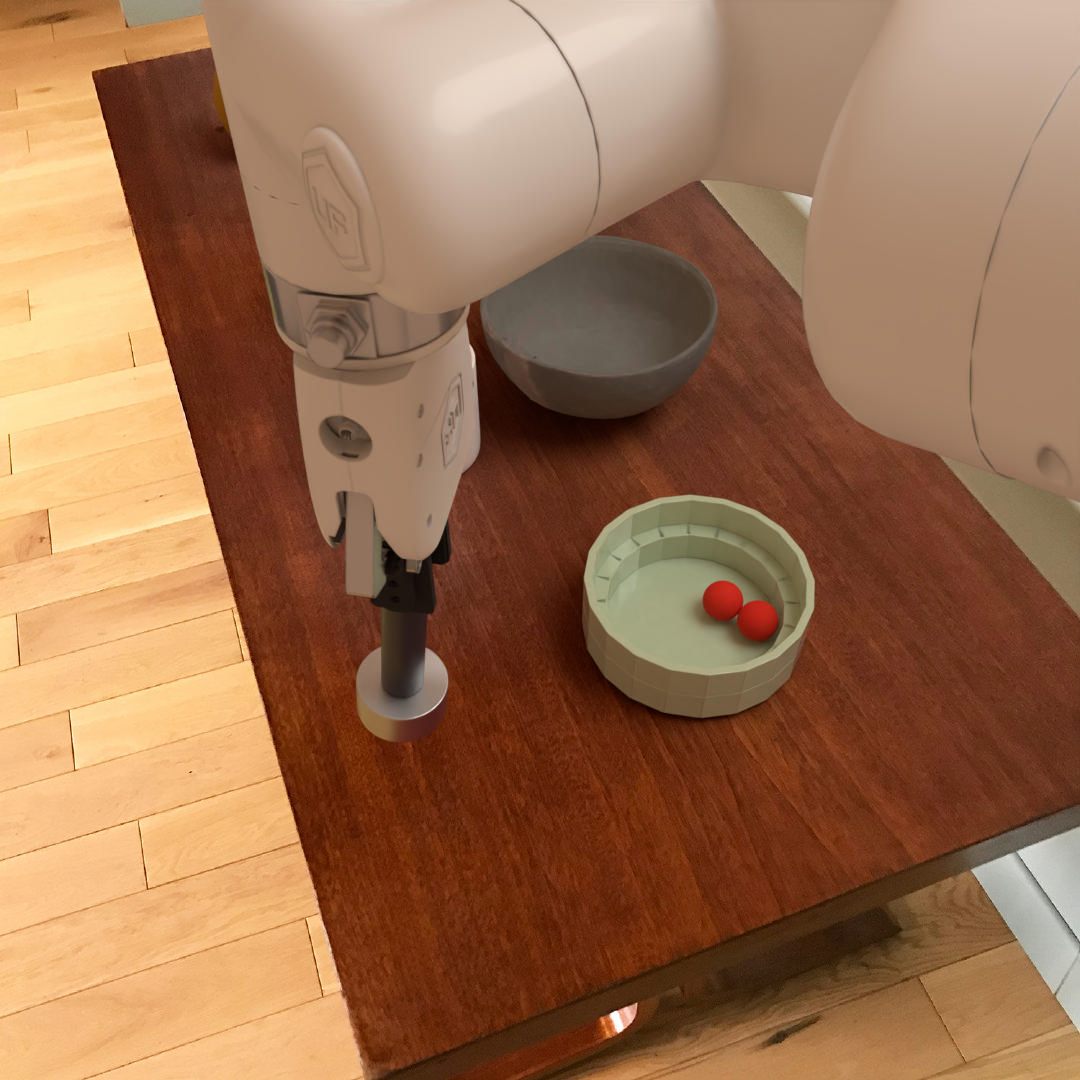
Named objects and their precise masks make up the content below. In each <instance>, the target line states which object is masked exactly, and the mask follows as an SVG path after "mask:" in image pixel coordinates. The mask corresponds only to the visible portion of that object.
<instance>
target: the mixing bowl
mask: <svg viewBox="0 0 1080 1080" xmlns="http://www.w3.org/2000/svg"><path fill="white" fill-rule="evenodd" d="M722 580H724V581H729V582H732V583H734V584H735V585H736V586H737V587H738V588H739V589H740V590H741V592H742V595H743V606H744V605H745V604H746V603H748V602H751V601H755V600H761V601H765V602H767V603H769V604H770V605H772V606H773V607H774V609H775V610H776V612H777V614H778V618H779V624H778V628H777V630H776V632H775V633H774V635H773V636H772V637H770V638H769V639H767V640H764V641H752V640H750V639H748V638H746V637H745V636H744V635H743V634H742V633H741V632H740V630H739V628H738V625H737V616H738V615H737V616H736V617H734V618H733V619H730V620H727V621H719V620H716V619H714V618H712V617H710V616H709V615H708V614H707V612H706V611H705V609H704V607H703V601H702V600H703V594H704V592H705V590H706V588H707V587H708V586H709V585H711V584H712V583H714V582H716V581H722ZM582 585H583V587H582V609H581V610H582V613H581V614H582V615H581V625H582V630H583V635H584V639H585V645H586V650H587V651H588V653H589V654H590V656H591V657H592V659H593V661H594V662H595V664H596V665H597V667H598V669H599V671H600V672H601V674H602V675H603V676H604V678H605V679H606V680H607V681H609V682H610V683H611V684H612V685H614V686H615V687H616V688H617V689H618V690H620V691H621V692H622V693H623V694H624V695H625V696H627V697H628V698H629V699H631V700H633V701H636V702H638V703H640V704H643V705H645V706H647V707H649V708H652V709H654V710H656V711H658V712H661V713H664V714H668V715H669V714H670V715H677V716H683V717H691V718H698V719H705V718H712V717H713V718H714V717H720V716H727V715H736V714H739V713H740V712H743V711H745V710H747V709H749V708H752V707H754V706H756V705H758V704H761V703H763V702H765V701H767V700H769V698H770V697H772V695H773V694H775V693H776V692H777V691H778V690H779V689H780V688H781V687H782V686H783V685H784V684H785V683H786V682H787V681H789V679H790V678H791V675H792V674H793V671H794V670H795V667H796V665H797V662H798V660H799V658H800V656H801V654H802V650H803V647H804V644H805V640H806V637H807V634H808V632H809V628H810V624H811V620H812V618H813V614H814V610H815V593H816V591H815V589H816V588H815V585H816V581H815V577H814V575H813V572H812V570H811V567H810V564H809V562H808V559H807V557H806V555H805V553H804V551H803V550H802V549H801V547H800V546H799V545H798V544H797V543H796V542H795V540H794V539H793V538H792V537H791V535H790V534H789V533H788V532H787V531H786V529H784V528H783V527H782V526H780V525H779V523H777V522H775V521H773V520H772V519H771V518H768V516H766V515H764V514H763V513H761V512H760V511H758V510H756V509H754V508H752V507H748V506H747V505H746V506H745V505H743V504H741V503H737V502H735V501H733V500H729V499H726V498H720V497H713V496H706V495H705V496H704V495H697V494H685V495H674V496H664V497H658V498H654V499H652V500H649V501H647V502H645V503H641V504H639V505H636V506H633V507H631V508H628V509H626V510H625V511H624V512H622V513H621V514H620V515H619V516H617V517H616V518H614V519H613V520H612V521H611V522H609V523H608V524H607V525H605V526H604V527H603V529H602V530H601V532H600V533H599V535H598V536H597V537H596V539H595V540H594V543H592V546H591V547H590V549H589V550H588V553H587V559H586V563H585V569H584V575H583V584H582Z"/></svg>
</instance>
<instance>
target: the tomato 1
mask: <svg viewBox="0 0 1080 1080" xmlns="http://www.w3.org/2000/svg"><path fill="white" fill-rule="evenodd" d="M702 601H703V607H704V609H705V611H706V612H707V614H708V615H709V616H710V617H712V618H714V619H716V620H719V621H727V620H730V619H733V618H734V617H736V616H737V615H738V613H739V611H740V609H741V608H742V607H743V595H742V592H741V590H740V589H739V588H738V587H737V586H736V585H735V584H734V583H732V582H729V581H724V580H722V581H716V582H714V583H712V584H711V585H709V586H708V587H707V588H706V590H705V592H704V594H703V600H702Z"/></svg>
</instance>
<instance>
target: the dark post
mask: <svg viewBox="0 0 1080 1080" xmlns="http://www.w3.org/2000/svg"><path fill="white" fill-rule="evenodd" d="M382 541H386V540H385V539H384V537H383V536H382ZM430 555H431V554H430ZM428 615H429V614H423V613H416V612H407V613H401V612H394V611H390V610H387V609H385V608H381V607H380V637H381V638H380V646H379V647H377V648H375V649H374V650H372V651H371V652H370V653H369V654H368V655H366V657H365V658H363V660H362V661H361V663H360V665H359V667H358V669H357V673H356V677H355V678H356V679H355V687H356V691H355V692H356V695H355V696H356V711H357V714H358V717H359V719H360V721H361V723H362V724H363V726H364V727H365V728H366V729H367V730H368V731H369V732H370V733H371V734H373V735H374V736H376V737H377V738H380V739H381V740H384V741H387V742H392V743H409V742H410V743H411V742H415V741H419V740H421V739H423V738H426V737H427V736H428V735H430V734H431V733H433V732H434V731H435V730H436V729H437V728H438V727H439V726H440V725H441V723H442V721H443V719H444V717H445V714H446V712H447V705H448V693H449V683H450V682H449V673H448V670H447V667H446V664H445V663H444V661H443V660H442V659H441V657H439V655H437V654H436V653H435V652H434V651H433V650H432V649H431V648H428V647H427V631H428Z"/></svg>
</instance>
